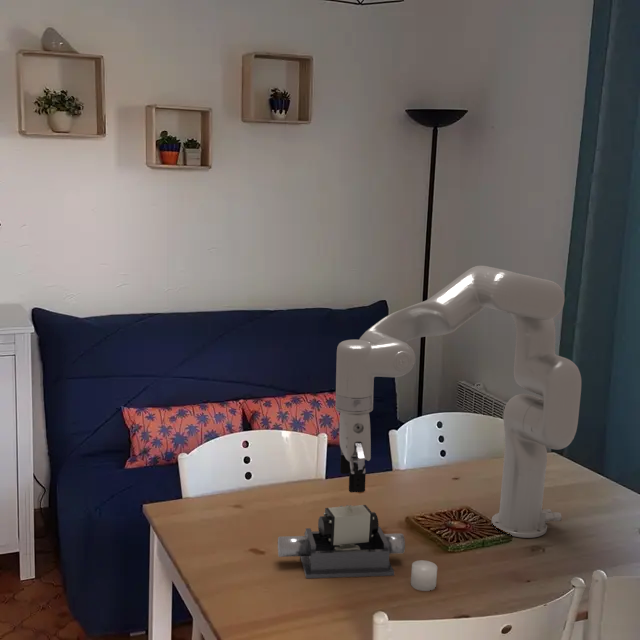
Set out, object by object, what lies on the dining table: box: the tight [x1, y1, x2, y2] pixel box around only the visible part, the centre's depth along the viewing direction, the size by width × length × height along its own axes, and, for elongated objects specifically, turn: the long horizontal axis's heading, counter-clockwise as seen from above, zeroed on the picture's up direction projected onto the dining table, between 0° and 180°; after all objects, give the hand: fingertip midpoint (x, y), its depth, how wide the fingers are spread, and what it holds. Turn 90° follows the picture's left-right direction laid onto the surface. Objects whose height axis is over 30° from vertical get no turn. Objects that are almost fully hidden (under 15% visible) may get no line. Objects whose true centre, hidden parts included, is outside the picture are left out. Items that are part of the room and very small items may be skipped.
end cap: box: [410, 559, 438, 592], centre depth 166 cm, size 5×5×4 cm
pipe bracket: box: [277, 526, 406, 579], centre depth 174 cm, size 26×12×6 cm, turn 99°
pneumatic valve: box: [317, 504, 380, 551], centre depth 173 cm, size 6×12×12 cm, turn 107°
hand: (352, 482), depth 171 cm, fingers open, 9 cm apart
